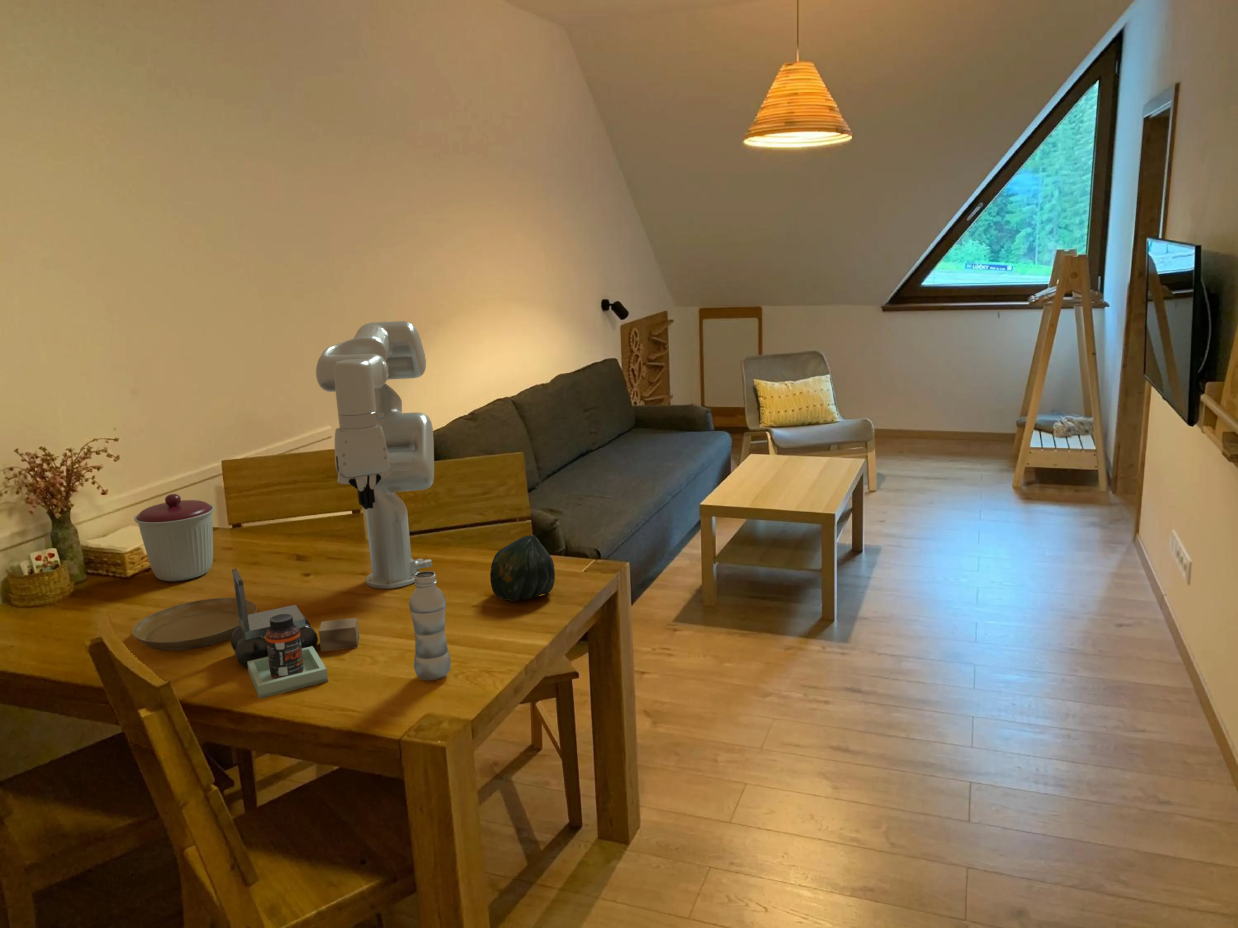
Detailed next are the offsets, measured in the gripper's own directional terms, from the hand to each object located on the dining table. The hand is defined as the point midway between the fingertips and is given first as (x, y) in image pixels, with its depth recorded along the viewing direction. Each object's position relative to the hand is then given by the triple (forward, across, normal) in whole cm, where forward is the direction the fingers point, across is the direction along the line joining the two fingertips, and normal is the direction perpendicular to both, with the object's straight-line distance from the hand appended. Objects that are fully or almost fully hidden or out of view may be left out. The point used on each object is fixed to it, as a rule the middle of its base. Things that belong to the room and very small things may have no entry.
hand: (367, 507), depth 187 cm
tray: (+25, +22, +17) cm, 37 cm away
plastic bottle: (+25, -1, +33) cm, 41 cm away
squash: (+26, -32, +4) cm, 41 cm away
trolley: (+25, +22, +5) cm, 34 cm away
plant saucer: (+26, +34, -17) cm, 46 cm away
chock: (+26, +10, +8) cm, 28 cm away
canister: (+27, +33, -59) cm, 73 cm away
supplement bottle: (+24, +22, +17) cm, 37 cm away
